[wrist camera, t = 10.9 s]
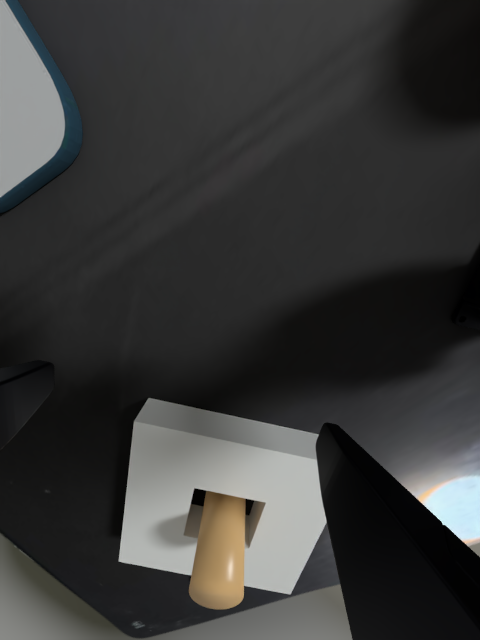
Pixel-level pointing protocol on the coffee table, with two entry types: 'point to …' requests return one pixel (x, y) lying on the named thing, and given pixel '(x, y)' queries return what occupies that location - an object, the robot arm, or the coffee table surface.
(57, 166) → the external hard drive
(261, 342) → the coffee table surface
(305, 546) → the grey board with hole
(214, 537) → the tan peg
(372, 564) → the robot arm
